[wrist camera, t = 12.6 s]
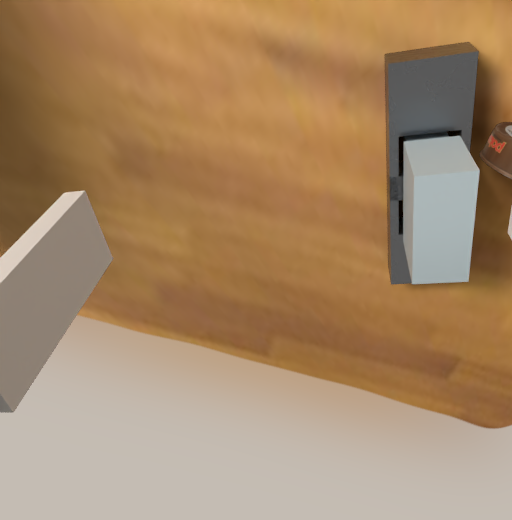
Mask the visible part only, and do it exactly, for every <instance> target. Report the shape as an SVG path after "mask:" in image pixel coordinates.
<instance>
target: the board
mask: <svg viewBox="0 0 512 520" xmlns="http://www.w3.org/2000/svg"><path fill="white" fill-rule="evenodd" d="M478 52H479V51H478V50H477V49H476V48H475V47H474V46H473V45H472V44H470V43H469V42H465V43H458V44H451V45H444V46H437V47H430V48H423V49H416V50H409V51H402V52H396V53H389V54H385V101H386V161H387V221H388V267H389V274H390V281H391V284H407V283H412V281H411V276H410V272H409V267H408V262H407V257H406V252H405V247H404V243H403V217H399V201H400V200H403V173H404V161H399V137H400V136H409V135H418V134H428V133H437V132H446V131H453V136H460V137H461V138H462V140H463V142H464V144H465V145H466V147H467V149H468V151H469V152H470V144H471V133H472V121H473V110H474V98H475V87H476V75H477V64H478Z"/></svg>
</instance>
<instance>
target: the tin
mask: <svg viewBox="0 0 512 520" xmlns="http://www.w3.org/2000/svg"><path fill="white" fill-rule="evenodd" d="M479 155H480V158H481V159H482V160H483V161H484V162H485V163H486V164H487V165H488V166H490V167H491V168H493V169H494V170H496V171H498V172H499V173H501V174H503V175H504V176H506V177H508V178H510V179H512V122H503V123H499V124H498V125H496V126H495V128H494V129H493V131H492V133H491V135H490V137H489V139H488V141H487V143H486V145H485V147H484V149H483V150H481V151H480V154H479Z"/></svg>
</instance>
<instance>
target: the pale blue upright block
mask: <svg viewBox="0 0 512 520" xmlns="http://www.w3.org/2000/svg"><path fill="white" fill-rule="evenodd" d="M403 155H404V173H403V243H404V247H405V252H406V257H407V262H408V267H409V272H410V276H411V281H412V284H429V283H450V282H468V280H469V271H470V261H471V251H472V241H473V231H474V222H475V212H476V202H477V192H478V182H479V172H480V170H479V168H478V167H477V165H476V163H475V161H474V159H473V158H472V156H471V154H470V152H469V151H468V149H467V147H466V145H465V144H464V142H463V140H462V138H461V137H460V136H452V137H449V135H448V133H447V131H446V132H437V133H428V134H418V135H409V136H403Z"/></svg>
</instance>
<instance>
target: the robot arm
mask: <svg viewBox="0 0 512 520" xmlns="http://www.w3.org/2000/svg"><path fill="white" fill-rule="evenodd" d="M508 234H509V236H510V238H511V240H512V207H511V214H510V221H509V227H508ZM112 260H113V257H112V255H111V252H110V250H109V247H108V245H107V242H106V240H105V238H104V235H103V233H102V230H101V228H100V225H99V223H98V221H97V218H96V216H95V213H94V211H93V208H92V206H91V204H90V201H89V199H88V196H87V194H86V191H75V192H65V193H63V194H62V196H61V197H60V198H59V199H58V200H57V201H56V202H55V203H54V204H53V205H52V206H51V207H50V208H49V209H48V210H47V211H46V212H45V213H44V214H43V215H42V216H41V217H40V218H39V219H38V220H37V221H36V222H35V223H34V224H33V225H32V226H31V227H30V228H29V229H28V230H27V231H26V232H25V233H24V234H23V235H22V236H21V237H20V238H19V239H18V240H17V241H16V242H15V243H14V244H13V245H12V246H11V247H10V248H9V250H8V251H7V252H6V253H5V254H4V255H3V256H2V257H1V258H0V412H14V411H15V409H16V408H17V406H18V405H19V403H20V401H21V400H22V398H23V397H24V395H25V394H26V392H27V391H28V389H29V388H30V386H31V385H32V383H33V382H34V380H35V378H36V377H37V375H38V374H39V372H40V371H41V369H42V368H43V366H44V364H45V363H46V361H47V360H48V358H49V357H50V355H51V354H52V352H53V351H54V349H55V348H56V346H57V345H58V343H59V341H60V340H61V338H62V337H63V335H64V334H65V332H66V331H67V329H68V327H69V326H70V325H71V323H72V321H73V320H74V318H75V317H76V315H77V314H78V312H79V311H80V309H81V308H82V306H83V305H84V303H85V301H86V300H87V298H88V297H89V295H90V294H91V292H92V291H93V289H94V288H95V286H96V285H97V283H98V281H99V280H100V278H101V277H102V275H103V274H104V272H105V271H106V269H107V268H108V266H109V265H110V263H111V261H112Z"/></svg>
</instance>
